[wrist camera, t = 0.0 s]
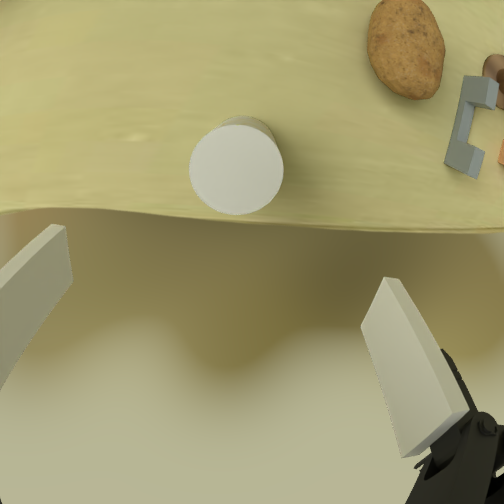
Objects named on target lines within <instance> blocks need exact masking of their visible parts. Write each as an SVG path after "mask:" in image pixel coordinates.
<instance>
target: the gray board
mask: <svg viewBox="0 0 504 504" xmlns="http://www.w3.org/2000/svg"><path fill="white" fill-rule="evenodd" d="M498 89H499V83H497V82H496V81H494V80H493V79H491V78H490V77H480V76H464V78H463V84H462V90H461V95H460V100H459V105H458V110H457V114H456V119H455V123H454V127H453V131H452V135H451V139H450V143H449V147H448V150H447V154H446V157H445V161H444V163H445V164H447V165H449V166H451V167H453V168H455V169H456V170H458V171H460V172H462V173H464V174H466V175H468V176H470V177H472V178H475V179H477V177H478V174H479V171H480V168H481V164H482V161H483V157H484V154H485V151H483V150H481V149H479V148H477V147H475V146H473V145H470V144H467V139H468V135H469V131H470V127H471V123H472V118H473V114H474V109H475V106H476V107H481V108H486V109H490V110H495V106H496V101H497V95H498Z"/></svg>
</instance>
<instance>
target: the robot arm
mask: <svg viewBox="0 0 504 504" xmlns="http://www.w3.org/2000/svg"><path fill="white" fill-rule="evenodd" d="M72 283H73V276H72V270H71V264H70V257H69V250H68V242H67V234H66V226H61V225H55V224H51V225H50V226H49V227H47V228H46V229H45V230H44V231H43V232H41V233H40V234H39V235H38V236H37V237H36V238H34V239H33V240H32V241H31V242H30V243H29V244H28V245H27V246H25V247H24V248H23V249H22V250H21V251H20V252H19V253H18V254H16V255H15V256H14V257H13V258H12V259H11V260H10V261H9V262H8V263H7V264H6V265H5V266H4V267H3V268H2V269H1V270H0V390H1V388H2V386H3V385H4V383H5V381H6V379H7V378H8V376H9V374H10V373H11V371H12V369H13V368H14V366H15V364H16V363H17V361H18V360H19V358H20V356H21V355H22V353H23V352H24V350H25V348H26V347H27V345H28V344H29V342H30V341H31V339H32V338H33V336H34V335H35V333H36V332H37V330H38V329H39V328H40V326H41V325H42V323H43V322H44V320H45V319H46V318H47V316H48V315H49V313H50V312H51V310H52V309H53V308H54V306H55V305H56V304H57V302H58V301H59V300H60V298H61V297H62V296H63V294H64V293H65V292H66V290H67V289H68V288H69V287H70V285H71V284H72ZM360 327H361V330H362V333H363V336H364V338H365V341H366V344H367V347H368V350H369V353H370V356H371V359H372V361H373V364H374V367H375V370H376V373H377V376H378V379H379V383H380V386H381V389H382V392H383V395H384V398H385V401H386V405H387V408H388V411H389V415H390V418H391V422H392V425H393V428H394V432H395V436H396V439H397V443H398V446H399V450H400V454H401V458H405V457H410V456H415V455H419V454H421V453H422V452H423V451H424V450H426V449H427V448H428V447H429V446H430V449H431V452H432V453H430V454H429V455H428V456H426V457H425V458H424V459H423V460H421V461H420V462H419V463H417V464H416V465H415V467H414V469H417V468H418V467H420V466H421V465H422V464H424V465H423V467H422V469H421V470H420V474H419V476H418V478H417V481H416V483H415V485H414V487H413V489H412V491H411V493H410V495H409V497H408V499H407V501H406V503H405V504H504V473H503V474H502V475H500V476H499V477H496V471H497V470H499V469H500V468H502V467H503V466H504V425H497V423H496V421H495V419H494V418H493V417H492V416H491V415H490V414H488V413H485V412H478V410H477V408H476V406H475V404H474V402H473V400H472V397H471V395H470V393H469V391H468V389H467V387H466V385H465V383H464V381H463V380H462V377H461V375H460V373H459V372H457V368H456V366H455V363H454V362H453V360H452V358H451V357H450V356H449V355H448V354H447V353H446V352H445V351H444V350H443V349H440V348H439V346H438V344H437V343H436V341H435V339H434V337H433V335H432V334H431V332H430V330H429V328H428V326H427V325H426V323H425V321H424V320H423V318H422V316H421V314H420V313H419V311H418V309H417V308H416V306H415V304H414V303H413V301H412V299H411V298H410V296H409V294H408V293H407V291H406V290H405V288H404V286H403V285H402V283H401V282H400V280H399V279H395V278H388V277H384V278H383V280H382V282H381V285H380V287H379V289H378V291H377V293H376V295H375V298H374V300H373V302H372V304H371V306H370V308H369V310H368V312H367V315H366V316H365V319H364V320H363V322H362V324H361V326H360ZM0 504H2V502H1V499H0Z"/></svg>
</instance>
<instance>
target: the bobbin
mask: <svg viewBox="0 0 504 504" xmlns="http://www.w3.org/2000/svg"><path fill="white" fill-rule="evenodd" d="M483 77H490V78H491V79H493V80H494V81H496V82H497V83H499V89H498V95H497V101H496V106H497V107H499V108H501V109H504V56H503V55H499V54H494V55H490V56H489V57H488V58H487V59H486V60H485V62H484V65H483Z"/></svg>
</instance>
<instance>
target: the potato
mask: <svg viewBox="0 0 504 504" xmlns="http://www.w3.org/2000/svg"><path fill="white" fill-rule="evenodd" d="M367 52H368V56H369V59H370V62H371V65H372V67H373V69H374V71H375V73H376V75H377V77H378V78H379V79H380V80H381V81H382V82H383V83H384V84H386V85H387V86H388V87H389V88H390V89H391V90H392V91H393V92H394V93H397V94H399V95H402V96H404V97H407V98H409V99H413V100H420V99H429V98H431V97H433V95H434V94H435V92H436V91H437V90H438V88H439V86H440V81H441V77H442V70H443V62H444V57H445V46H444V40H443V37H442V35H441V32H440V30H439V27H438V25H437V22H436V20H435V17H434V15H433V14H432V12H431V11H430V9H429V7H428V6H427V5H426V4H425V3H424V2H423V1H422V0H382V1H381V2H380V3H379V4H377V6H376V8H375V10H374V11H373V13H372V15H371V19H370V24H369V31H368V46H367Z"/></svg>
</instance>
